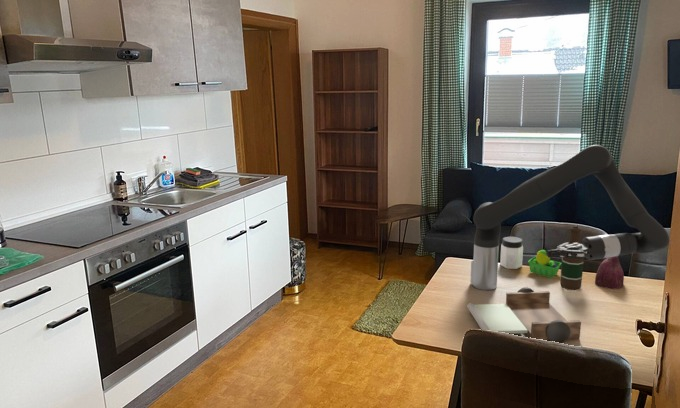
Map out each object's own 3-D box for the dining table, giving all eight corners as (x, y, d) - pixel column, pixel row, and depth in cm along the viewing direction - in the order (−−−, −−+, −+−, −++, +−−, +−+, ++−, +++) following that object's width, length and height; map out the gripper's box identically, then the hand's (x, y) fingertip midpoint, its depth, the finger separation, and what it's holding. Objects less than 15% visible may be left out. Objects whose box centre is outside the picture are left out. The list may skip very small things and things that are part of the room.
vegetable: (624, 296, 193) (638, 265, 186) (596, 291, 195) (608, 260, 187) (617, 280, 202) (630, 249, 194) (590, 275, 204) (602, 245, 196)
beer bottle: (555, 283, 199) (560, 225, 193) (574, 282, 200) (579, 224, 194) (565, 291, 191) (571, 231, 186) (585, 290, 192) (591, 230, 186)
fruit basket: (561, 274, 208) (563, 248, 205) (552, 280, 202) (554, 254, 199) (534, 267, 216) (536, 242, 213) (524, 273, 210) (526, 247, 207)
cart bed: (545, 304, 181) (546, 286, 179) (582, 342, 155) (584, 321, 154) (503, 306, 181) (504, 288, 179) (534, 344, 155) (535, 323, 153)
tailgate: (506, 302, 176) (467, 303, 176) (527, 328, 158) (484, 329, 157) (505, 307, 177) (467, 309, 176) (527, 334, 158) (484, 336, 158)
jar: (500, 268, 216) (501, 241, 213) (500, 261, 224) (501, 235, 221) (522, 270, 213) (524, 243, 210) (521, 263, 221) (523, 237, 218)
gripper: (590, 231, 169) (538, 238, 170) (610, 240, 156) (554, 247, 157) (591, 253, 170) (540, 259, 171) (612, 263, 157) (556, 270, 158)
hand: (547, 254), depth 164 cm, fingers closed
